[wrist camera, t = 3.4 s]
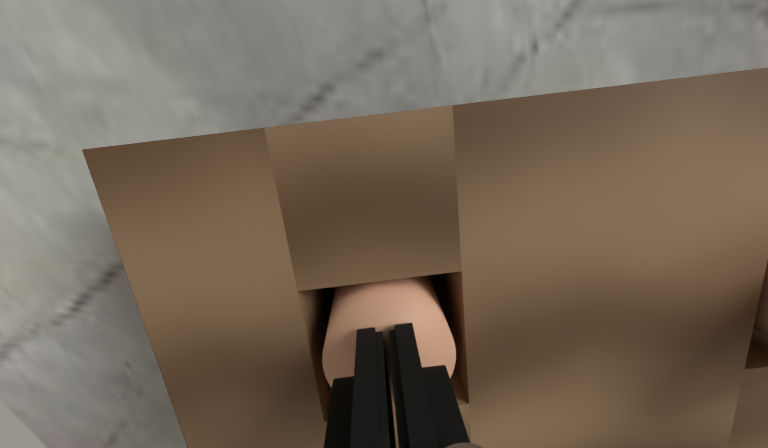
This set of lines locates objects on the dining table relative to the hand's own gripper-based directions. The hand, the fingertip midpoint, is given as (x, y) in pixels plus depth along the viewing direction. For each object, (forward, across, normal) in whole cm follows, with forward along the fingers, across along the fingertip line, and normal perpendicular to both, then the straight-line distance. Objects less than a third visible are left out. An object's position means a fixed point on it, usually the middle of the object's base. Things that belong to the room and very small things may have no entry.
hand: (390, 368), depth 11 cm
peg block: (+8, -7, 0) cm, 11 cm away
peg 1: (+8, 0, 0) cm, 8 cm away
